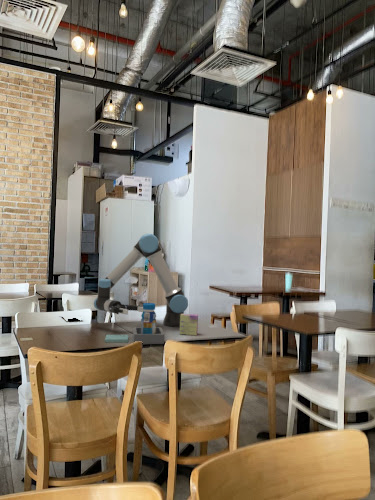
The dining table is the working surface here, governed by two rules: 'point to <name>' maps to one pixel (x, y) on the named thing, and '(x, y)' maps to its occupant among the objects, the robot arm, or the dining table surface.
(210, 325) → the dining table surface
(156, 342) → the gray rectangular frame
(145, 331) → the beverage bottle
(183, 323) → the box
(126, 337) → the board
